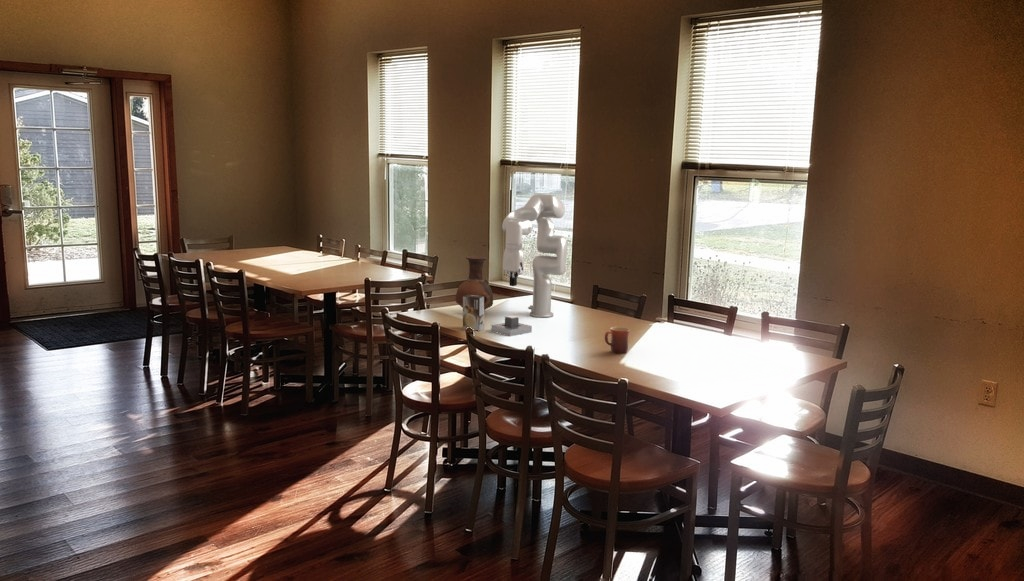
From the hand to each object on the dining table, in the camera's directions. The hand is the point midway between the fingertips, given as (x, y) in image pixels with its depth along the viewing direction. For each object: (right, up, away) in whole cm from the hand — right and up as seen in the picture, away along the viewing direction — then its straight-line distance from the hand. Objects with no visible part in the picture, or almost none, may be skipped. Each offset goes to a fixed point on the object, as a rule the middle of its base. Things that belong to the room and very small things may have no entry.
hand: (513, 285), depth 374 cm
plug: (-1, -22, +4) cm, 22 cm away
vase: (-20, -15, +43) cm, 50 cm away
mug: (+44, -29, -31) cm, 61 cm away
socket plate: (-1, -22, +3) cm, 22 cm away
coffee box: (-19, -21, +7) cm, 29 cm away
